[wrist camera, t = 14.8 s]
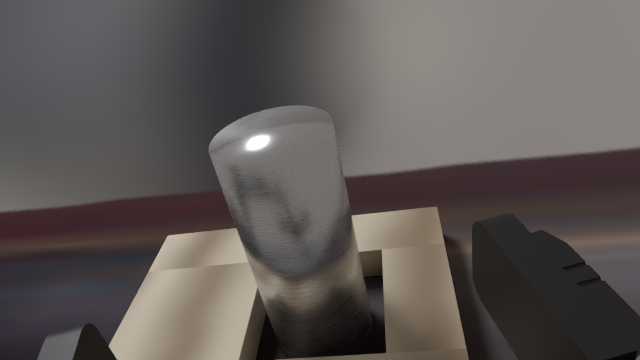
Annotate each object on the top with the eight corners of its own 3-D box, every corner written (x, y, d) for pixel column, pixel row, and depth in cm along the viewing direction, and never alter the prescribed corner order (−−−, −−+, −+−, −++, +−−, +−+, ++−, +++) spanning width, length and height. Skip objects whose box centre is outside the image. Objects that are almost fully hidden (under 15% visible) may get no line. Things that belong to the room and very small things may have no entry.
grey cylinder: (384, 355, 24) (344, 145, 18) (282, 382, 24) (205, 180, 17) (359, 280, 29) (320, 93, 22) (274, 302, 28) (211, 120, 22)
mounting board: (79, 463, 22) (58, 439, 21) (178, 257, 34) (167, 235, 33) (483, 454, 19) (482, 426, 18) (438, 231, 31) (436, 206, 30)
